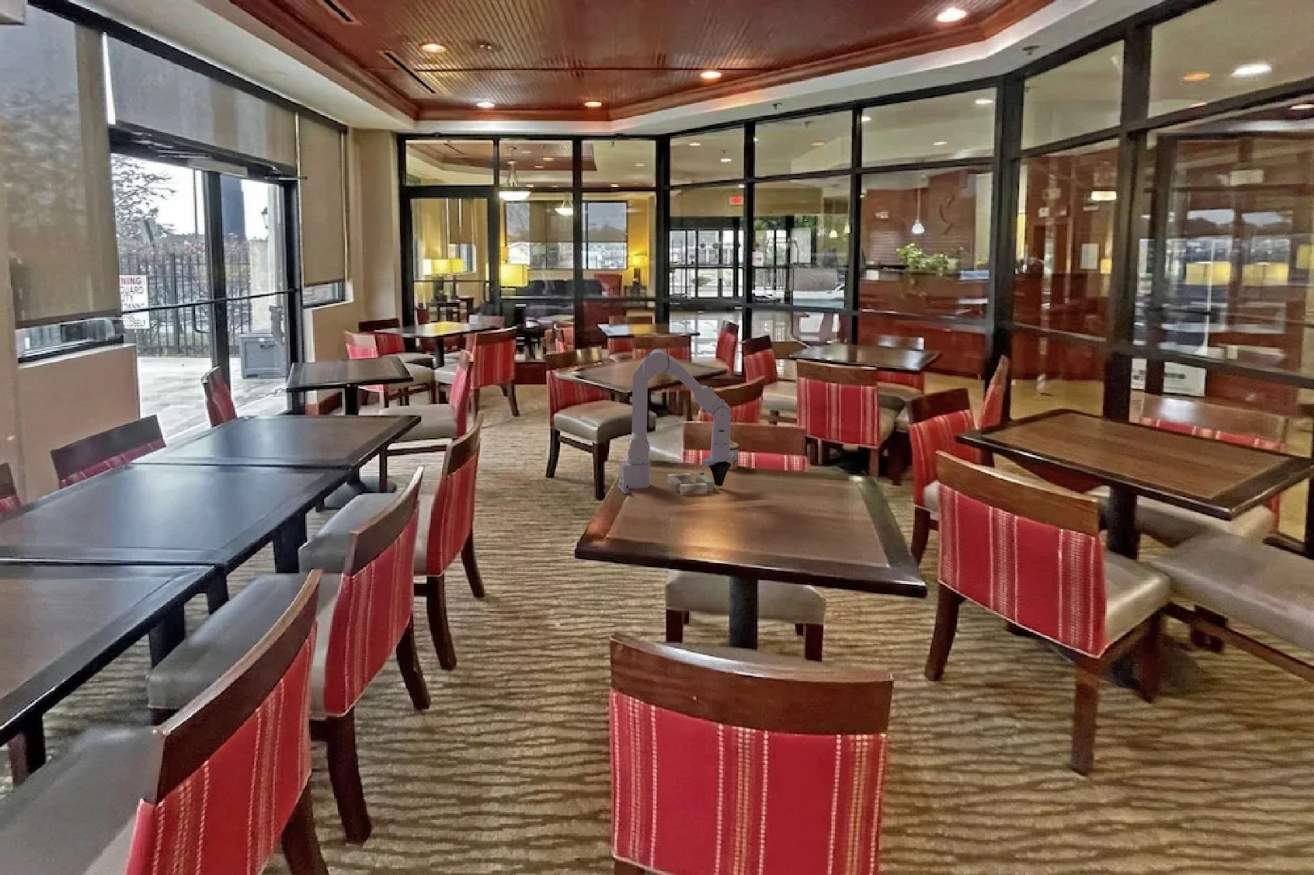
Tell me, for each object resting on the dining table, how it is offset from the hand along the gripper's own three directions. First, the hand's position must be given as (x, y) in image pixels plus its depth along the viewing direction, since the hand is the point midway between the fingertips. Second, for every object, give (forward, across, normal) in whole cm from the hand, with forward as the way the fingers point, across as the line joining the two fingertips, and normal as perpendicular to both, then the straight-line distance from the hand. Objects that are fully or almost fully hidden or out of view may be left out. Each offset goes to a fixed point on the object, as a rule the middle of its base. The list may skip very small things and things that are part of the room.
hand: (718, 485), depth 279 cm
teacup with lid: (+3, +24, +17) cm, 29 cm away
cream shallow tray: (+2, -5, +6) cm, 8 cm away
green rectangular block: (+1, -2, +4) cm, 5 cm away
